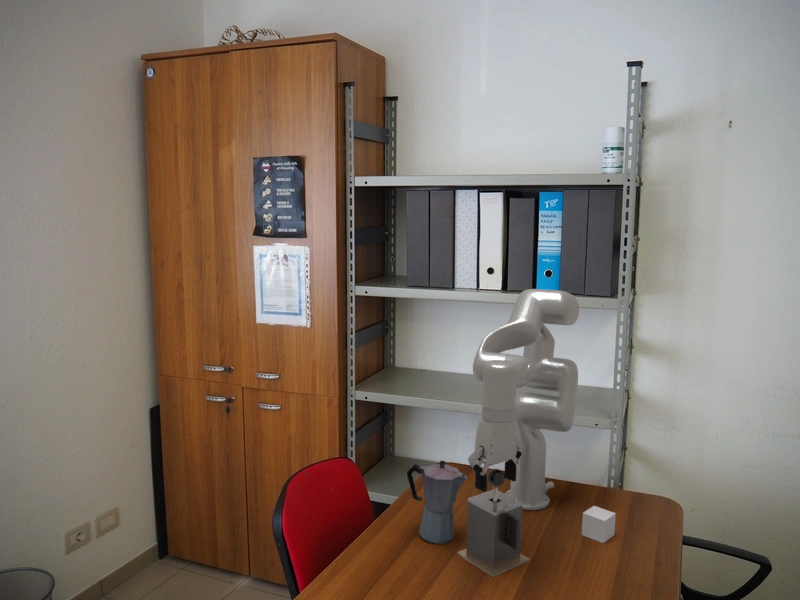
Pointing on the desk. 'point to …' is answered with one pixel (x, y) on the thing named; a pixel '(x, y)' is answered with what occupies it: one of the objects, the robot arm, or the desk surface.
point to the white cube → (598, 524)
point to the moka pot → (437, 500)
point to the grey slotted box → (494, 533)
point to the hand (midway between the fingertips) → (495, 484)
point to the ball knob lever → (495, 481)
